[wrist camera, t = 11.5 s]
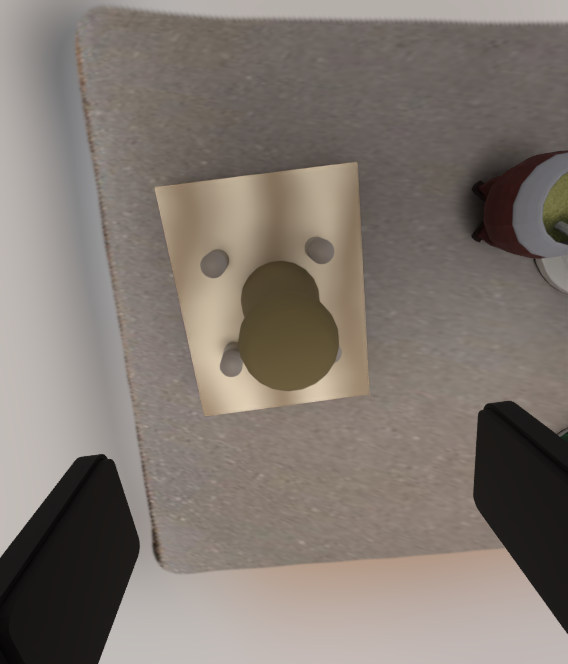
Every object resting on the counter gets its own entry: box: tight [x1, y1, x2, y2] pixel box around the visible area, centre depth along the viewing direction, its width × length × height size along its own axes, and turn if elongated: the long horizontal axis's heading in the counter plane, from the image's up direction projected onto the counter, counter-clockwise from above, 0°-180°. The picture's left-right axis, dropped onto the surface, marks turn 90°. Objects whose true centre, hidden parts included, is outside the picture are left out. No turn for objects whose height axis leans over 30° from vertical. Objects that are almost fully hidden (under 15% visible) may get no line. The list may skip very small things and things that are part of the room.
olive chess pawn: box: [238, 261, 339, 391], centre depth 22 cm, size 6×6×11 cm
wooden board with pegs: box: [155, 162, 369, 416], centre depth 28 cm, size 14×18×7 cm
